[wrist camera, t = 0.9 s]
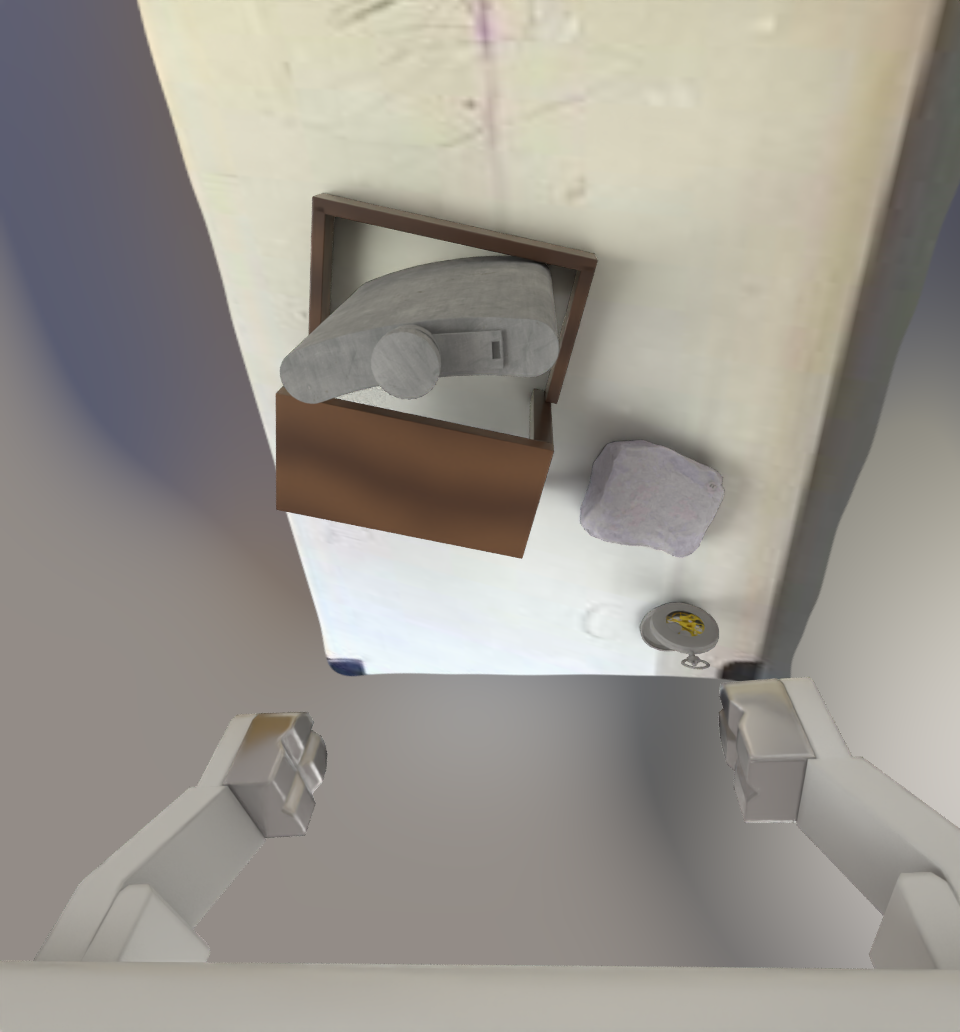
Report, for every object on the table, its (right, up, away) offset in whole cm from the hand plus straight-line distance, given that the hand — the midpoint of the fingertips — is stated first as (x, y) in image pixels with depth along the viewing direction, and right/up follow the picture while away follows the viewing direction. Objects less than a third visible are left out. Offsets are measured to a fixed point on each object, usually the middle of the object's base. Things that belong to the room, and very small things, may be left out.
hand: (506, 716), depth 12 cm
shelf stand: (-4, +17, +39) cm, 43 cm away
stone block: (+16, +7, +44) cm, 48 cm away
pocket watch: (+21, -7, +53) cm, 57 cm away
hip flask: (-3, +23, +36) cm, 42 cm away
